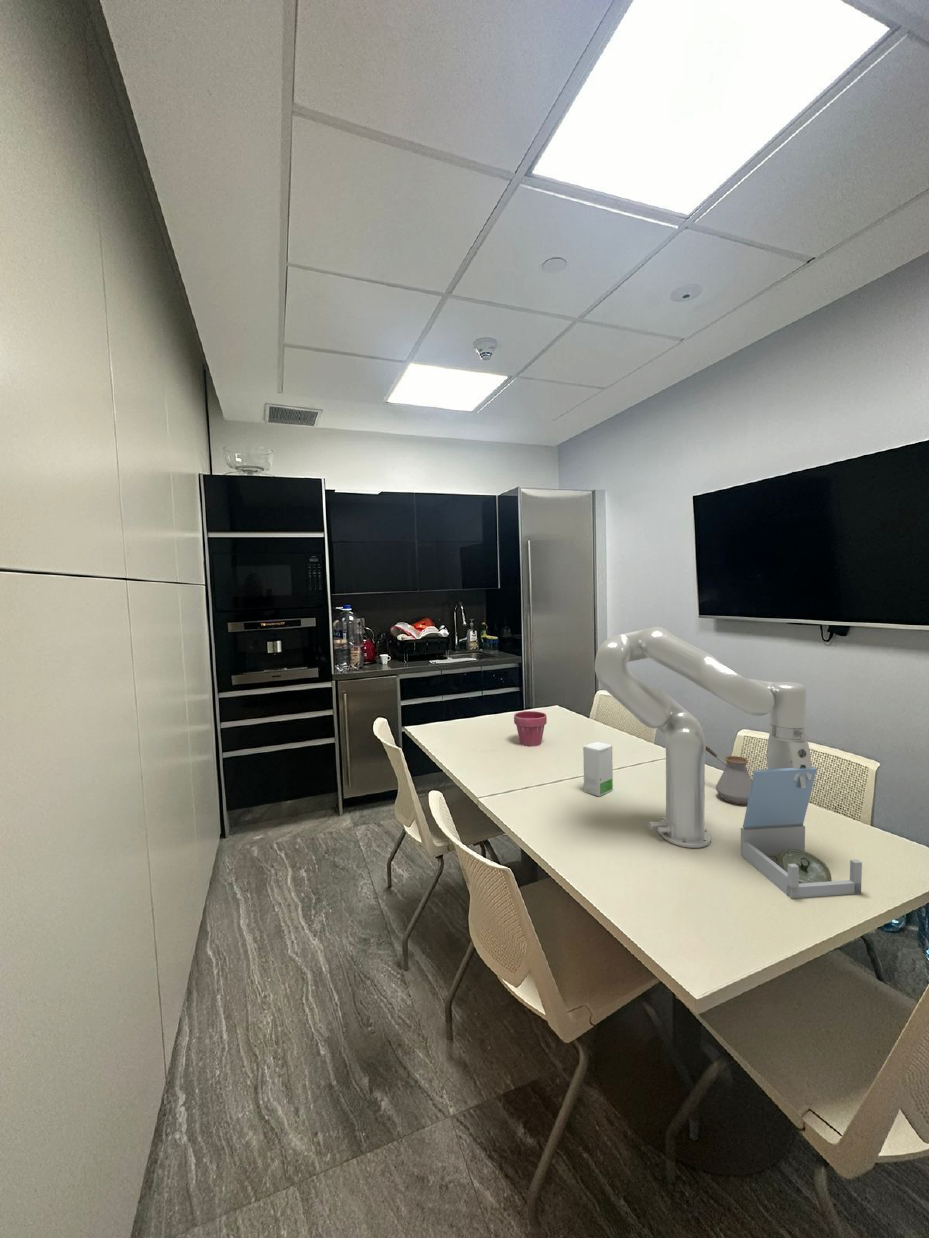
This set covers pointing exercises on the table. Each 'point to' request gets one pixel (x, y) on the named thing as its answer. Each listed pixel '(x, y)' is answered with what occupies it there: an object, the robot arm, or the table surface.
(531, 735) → the plant pot
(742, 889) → the table surface
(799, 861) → the lid
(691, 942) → the table surface
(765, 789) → the cover
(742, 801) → the coffee pot
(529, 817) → the table surface
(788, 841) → the low-walled grey tray
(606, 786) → the skincare box
